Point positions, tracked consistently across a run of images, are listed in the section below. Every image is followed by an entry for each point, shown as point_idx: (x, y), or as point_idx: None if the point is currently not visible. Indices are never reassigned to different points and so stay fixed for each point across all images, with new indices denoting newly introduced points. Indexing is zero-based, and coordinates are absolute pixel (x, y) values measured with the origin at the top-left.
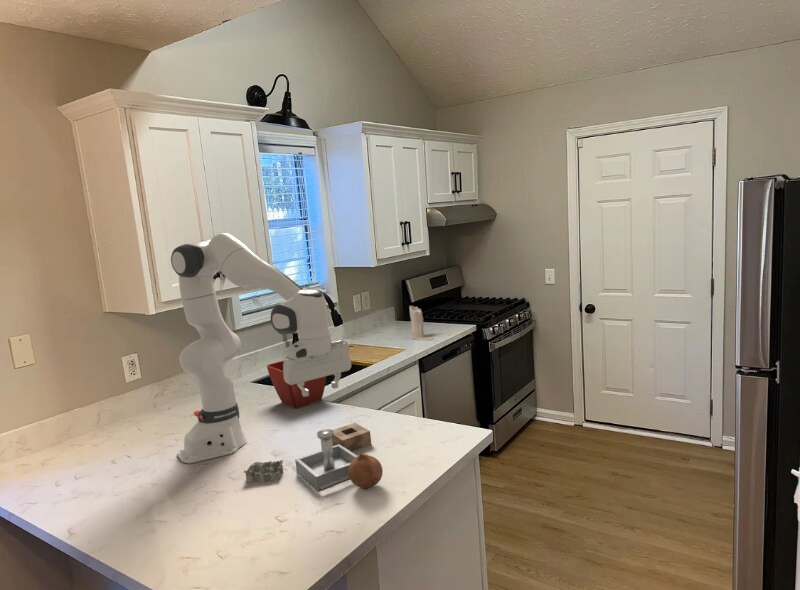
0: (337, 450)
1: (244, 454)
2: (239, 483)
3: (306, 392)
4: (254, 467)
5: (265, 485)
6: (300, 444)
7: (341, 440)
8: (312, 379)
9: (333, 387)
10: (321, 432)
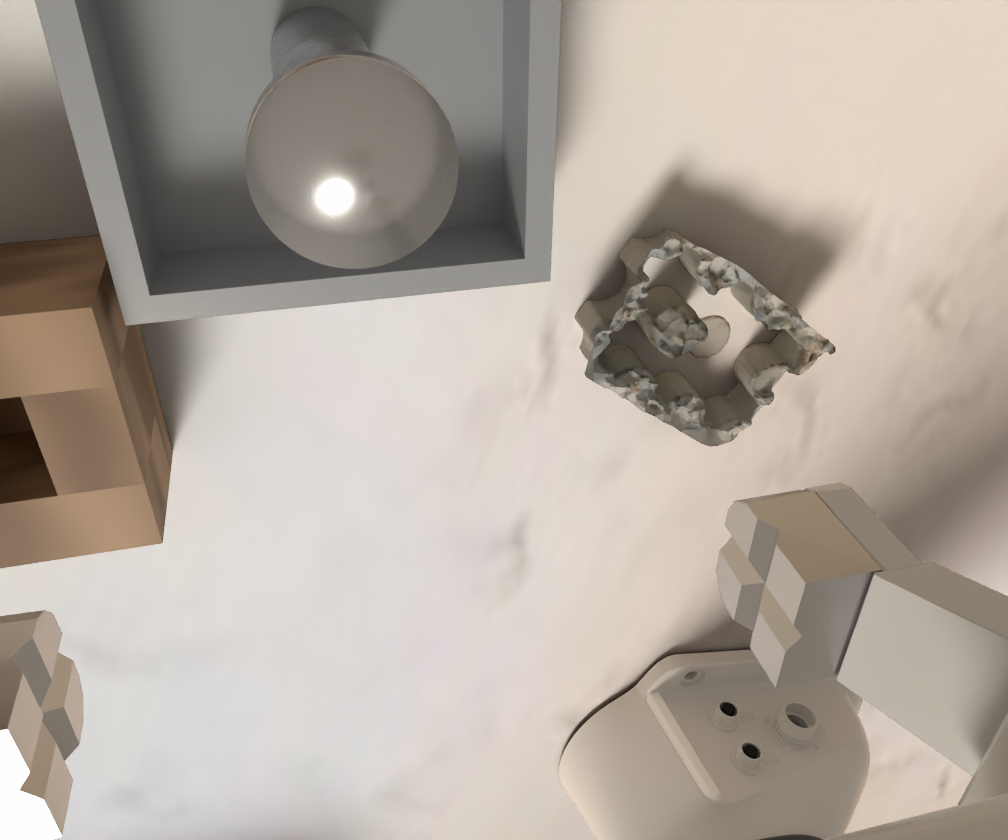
0: (164, 278)
1: (637, 622)
2: (818, 328)
3: (839, 537)
4: (711, 422)
5: (739, 204)
6: (337, 598)
7: (99, 327)
8: (892, 823)
9: (52, 646)
10: (396, 198)
